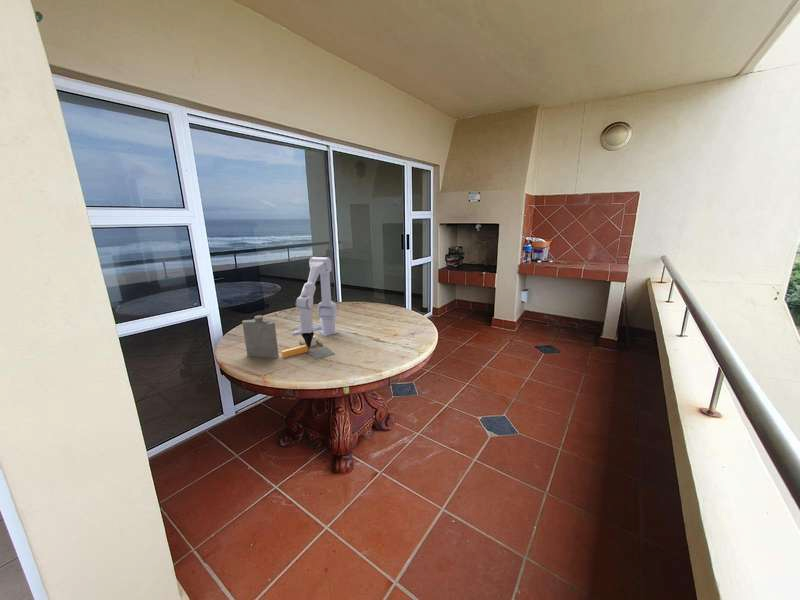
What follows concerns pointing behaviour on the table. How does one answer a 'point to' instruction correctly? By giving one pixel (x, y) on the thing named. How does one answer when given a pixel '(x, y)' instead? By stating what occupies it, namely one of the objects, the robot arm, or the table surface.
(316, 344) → the white block
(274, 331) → the hip flask
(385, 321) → the table surface
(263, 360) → the table surface
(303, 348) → the orange bar
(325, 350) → the slate mat
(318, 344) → the walnut channel
